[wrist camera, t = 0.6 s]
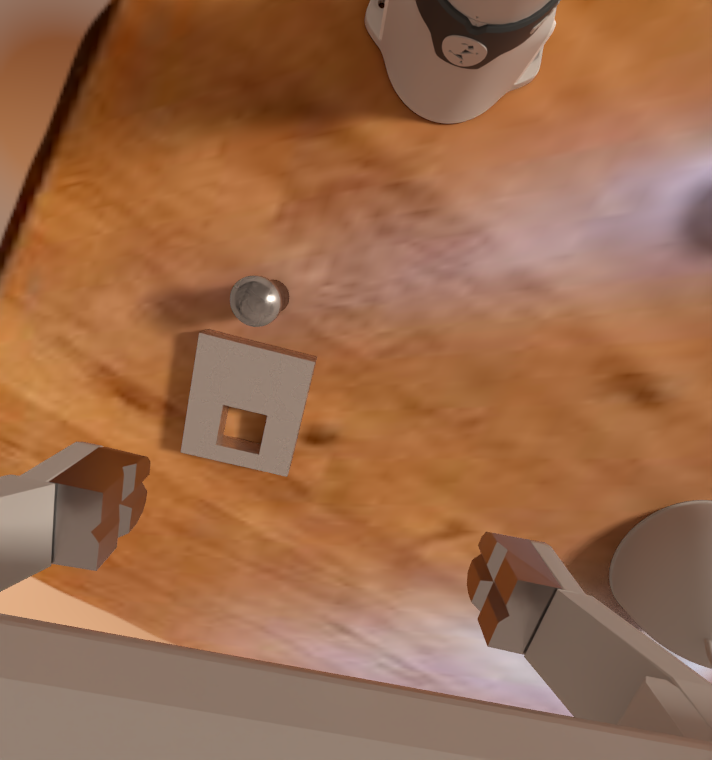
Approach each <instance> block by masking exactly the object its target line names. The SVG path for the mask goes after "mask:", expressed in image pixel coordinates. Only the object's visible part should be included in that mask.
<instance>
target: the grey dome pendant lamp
mask: <svg viewBox="0 0 712 760" xmlns="http://www.w3.org/2000/svg"><path fill="white" fill-rule="evenodd" d="M609 582H610V587H611V591H612V593H613V595H614V597H615V599H616V600H617V602H618V603H619V604H620V606H621V607H622V608H623V609H624V610H625V611H626V612H627V613H628V614H629V615H630V617H631V618H632V619H633V620H634V621H635V622H636V623H637V624H638V625H639V626H640V627H641V628H642V629H643V630H644V631H645V632H646V633H647V634H648V635H649V636H651V637H652V638H653V639H654V640H656V641H657V642H658V643H660V644H661V645H662V646H664V647H665V648H667V649H668V650H670V651H672V652H673V653H675V654H677V655H679V656H681V657H683V658H685V659H687V660H689V661H691V662H694V663H696V664H699V665H702V666H705V667H708V668H711V669H712V501H711V500H693V501H686V502H681V503H677V504H674V505H671V506H668V507H665V508H663V509H661V510H659V511H657V512H655V513H653V514H651V515H649V516H648V517H646V518H645V519H643V520H642V521H641V522H639V523H638V524H637V525H636V526H635V527H634V528H632V529H631V530H630V531H629V532H628V534H627V535H626V536H625V537H624V538H623V540H622V541H621V542H620V544H619V546H618V547H617V549H616V551H615V553H614V555H613V558H612V561H611V565H610V570H609Z"/></svg>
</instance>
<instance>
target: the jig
mask: <svg viewBox="0 0 712 760" xmlns="http://www.w3.org/2000/svg"><path fill="white" fill-rule="evenodd" d="M316 360H317V357H316V356H312V355H308V354H304V353H300V352H296V351H292V350H288V349H284V348H281V347H277V346H273V345H269V344H265V343H261V342H257V341H253V340H249V339H245V338H241V337H238V336H234V335H230V334H226V333H222V332H218V331H214V330H210V329H207V330H205V331H202V332H200V333H199V337H198V344H197V350H196V356H195V363H194V369H193V376H192V382H191V389H190V395H189V402H188V408H187V415H186V421H185V427H184V434H183V440H182V447H181V453H186V454H190V455H194V456H199V457H203V458H208V459H212V460H216V461H221V462H225V463H229V464H234V465H238V466H243V467H247V468H251V469H256V470H260V471H265V472H269V473H273V474H278V475H282V476H286V477H287V476H288V473H289V470H290V466H291V463H292V458H293V454H294V450H295V446H296V442H297V438H298V434H299V430H300V426H301V421H302V417H303V413H304V409H305V405H306V401H307V397H308V393H309V389H310V385H311V380H312V376H313V372H314V368H315V364H316ZM229 406H230V407H234V408H238V409H243V410H247V411H251V412H255V413H259V414H263V415H267V420H266V425H265V429H264V434H263V438H262V443H261V444H259V443H255V442H251V441H247V440H242V439H238V438H234V437H229V436H225V435H224V430H225V424H226V419H227V413H228V408H229Z"/></svg>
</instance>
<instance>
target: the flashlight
mask: <svg viewBox="0 0 712 760" xmlns="http://www.w3.org/2000/svg"><path fill="white" fill-rule="evenodd" d="M288 302H289V292H288V290H287V288H286V286H285V285H284V284H283V283H281V282H280V281H277V280H269V279H267V278H265V277H262V276H248V277H244V278H242V279H240V280H239V281H238V282H237V283H236V284H235V285H234V287H233V288H232V291H231V294H230V305H231V309H232V311H233V313H234V315H235V316H236V317H237V318H238V319H239V320H240V321H241V322H243V323H244V324H246V325H249V326H253V327H260V326H264V325H267V324H269V323H270V322H272V321H273V320H275V319H276V318H277V316H278V315H279V313H280V311H282V310H284V309H285V308H286V306H287V305H288Z"/></svg>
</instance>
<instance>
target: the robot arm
mask: <svg viewBox="0 0 712 760" xmlns="http://www.w3.org/2000/svg"><path fill="white" fill-rule="evenodd" d="M559 2H560V0H370V2H369V5H368V7H367V10H366V15H365V26H366V29H367V31H368V33H369V34H370V36H371V37H372V39H373V40H374V42H375V43H376V44H377V46H378V47H379V48H380V50H381V52H382V55H383V58H384V62H385V65H386V69H387V73H388V76H389V79H390V81H391V83H392V85H393V88H394V89H395V91H396V93H397V94H398V96H399V97H400V99H401V100H402V101H403V102H404V103H405V104H406V105H407V106H408V107H409V108H410V109H411V110H412V111H413V112H415V113H416V114H418V115H419V116H421V117H423V118H425V119H428V120H430V121H434V122H438V123H459V122H464V121H467V120H470V119H472V118H475V117H477V116H479V115H480V114H482V113H483V112H485V111H486V110H488V109H489V108H490V107H491V106H492V105H494V104H495V103H496V102H497V101H498V100H499V99H500V98H501V97H502V96H503V95H504V94H506V93H507V92H509V91H511V90H514V89H517V88H519V87H522V86H524V85H526V84H528V83H530V82H531V81H532V80H533V79H534V78H535V76H536V75H537V73H538V71H539V69H540V64H541V58H542V52H543V46H544V44H545V43H546V41H547V40H548V38H549V37H550V35H551V34H552V32H553V30H554V28H555V25H556V21H555V20H554V17H555V13H556V8H557V5H558V4H559ZM380 3H384V4H385V5H384V8H380V7H379V6H378V5H379V4H380ZM149 473H150V460H149V458H148V457H146V456H142V455H138V454H133V453H129V452H125V451H121V450H117V449H112V448H108V447H103V446H101V445H96V444H91V443H86V442H75V443H73V444H72V445H70V446H68V447H67V448H65V449H63V450H62V451H60V452H58V453H57V454H55V455H54V456H52V457H50V458H49V459H47V460H45V461H44V462H42V463H40V464H39V465H37V466H35V467H34V468H32V469H30V470H29V471H27V472H26V473H24V474H22V475H21V476H16V475H7V476H2V477H0V592H1V591H3V590H5V589H7V588H8V587H10V586H12V585H14V584H16V583H18V582H20V581H22V580H24V579H26V578H28V577H30V576H32V575H34V574H36V573H38V572H40V571H42V570H44V569H46V568H48V567H50V566H51V564H58V565H64V566H70V567H76V568H82V569H88V570H94V571H97V569H98V568H99V567H100V566H101V565H102V564H103V563H104V561H105V560H106V559H107V558H108V557H109V556H110V554H111V553H112V552H113V551H114V550H115V549H116V547H117V539H118V537H120V536H123V535H125V534H128V533H129V532H130V531H131V530H132V529H133V527H134V526H135V525H136V524H137V522H138V520H139V518H140V516H141V514H142V512H143V509H144V506H145V503H146V497H147V490H146V488H145V487H144V485H143V483H142V482H143V480H144V479H145V478H146V477H147V476H148V475H149ZM478 546H479V549H480V552H481V554H480V555H479V556H477V557H476V558H474V559H473V560H472V562H471V564H470V567H469V570H468V576H467V588H468V594H469V597H470V600H471V602H472V603H473V604H474V605H475V606H476V607H477V608H478V610H479V611H480V614H479V617H478V622H479V624H480V627H481V630H482V632H483V635H484V638H485V641H486V643H487V646H488V647H492V648H497V649H501V650H506V651H510V652H515V653H519V654H524V655H525V656H524V657H525V658H526V659H527V661H528V662H529V663H530V664H531V665H532V667H533V668H534V669H535V670H536V671H537V673H538V674H539V675H540V676H541V678H542V679H543V680H544V681H545V682H546V684H547V685H548V686H549V687H550V688H551V690H552V691H553V692H554V693H555V694H556V696H557V697H558V698H559V699H560V700H561V702H562V703H563V704H564V705H565V706H566V708H567V709H568V710H569V711H570V712H571V714H572V715H573V716H574V717H570V716H564V715H559V714H553V713H547V712H542V711H536V710H531V709H526V708H520V707H515V706H509V705H504V704H498V703H493V702H487V701H482V700H476V699H471V698H465V697H460V696H454V695H449V694H443V693H438V692H433V691H427V690H422V689H416V688H411V687H405V686H400V685H394V684H389V683H383V682H378V681H372V680H367V679H361V678H356V677H350V676H344V675H339V674H333V673H328V672H322V671H316V670H311V669H305V668H300V667H294V666H289V665H283V664H277V663H272V662H266V661H261V660H255V659H250V658H244V657H238V656H233V655H227V654H222V653H216V652H211V651H205V650H199V649H194V648H188V647H183V646H177V645H172V644H166V643H161V642H155V641H150V640H143V639H138V638H133V637H127V636H122V635H116V634H111V633H105V632H99V631H94V630H89V629H82V628H78V627H72V626H67V625H60V624H56V623H50V622H44V621H39V620H33V619H27V618H22V617H17V616H11V615H5V614H0V760H712V684H711V683H710V682H709V681H707V680H706V679H704V678H703V677H702V676H700V675H699V674H698V673H696V672H695V671H694V670H692V669H691V668H689V667H688V666H687V665H685V664H684V663H683V662H681V661H680V660H679V659H677V658H676V657H675V656H673V655H672V654H670V653H669V652H668V651H666V650H665V649H664V648H662V647H661V646H660V645H658V644H657V643H656V642H654V641H653V640H651V639H650V638H649V637H647V636H646V635H645V634H643V633H642V632H641V631H639V630H638V629H636V628H635V627H634V626H632V625H631V624H630V623H628V622H627V621H626V620H624V619H623V618H622V617H620V616H619V615H617V614H616V613H615V612H613V611H612V610H611V609H609V608H608V607H607V606H605V605H604V604H603V603H601V602H600V601H598V600H597V599H596V598H594V597H593V596H590V595H586V594H585V593H584V591H583V590H582V588H581V587H580V586H579V584H578V583H577V582H576V580H575V579H574V578H573V576H572V575H571V574H570V572H569V571H568V569H567V568H566V567H565V565H564V564H563V563H562V561H561V560H560V559H559V557H558V556H557V554H556V553H555V552H554V550H553V549H552V548H551V546H549V545H548V544H546V543H545V542H539V541H534V540H528V539H522V538H516V537H511V536H506V535H501V534H496V533H490V532H485V534H484V535H483V536H482V537H481V540H480V542H479V544H478Z"/></svg>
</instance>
